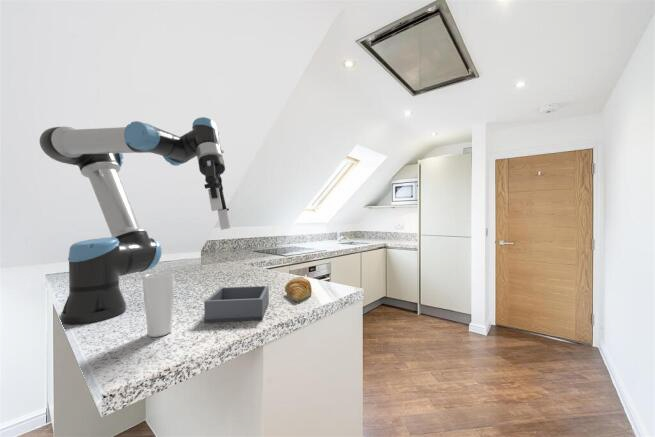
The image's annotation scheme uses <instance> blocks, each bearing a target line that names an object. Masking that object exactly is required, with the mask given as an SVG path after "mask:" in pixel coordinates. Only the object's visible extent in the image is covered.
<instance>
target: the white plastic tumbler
mask: <svg viewBox="0 0 655 437" xmlns="http://www.w3.org/2000/svg"><path fill="white" fill-rule="evenodd" d="M142 290H143V299H144V300H143V301H144V310H145V318H146V319H145V320H146V330H147V332H146V334H147V336H149V337H150V338H157V337H162V336H165V335H168V334H169V333H171V332H172V330H173V310H174V302H175V301H174V300H175V273H174V272H156V273H150V274H146V275H144V276H143V288H142Z"/></svg>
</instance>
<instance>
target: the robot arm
mask: <svg viewBox="0 0 655 437" xmlns="http://www.w3.org/2000/svg"><path fill="white" fill-rule="evenodd" d="M219 134H220V133H219V131H218V127H217V124H216V122H215V121H214V120H213V119H211V118H209V117H203V116H201V117H198V118H196V119H194V120H193V122H192V128H191V130H189V131H188V132H186V133H185V134H182V135H181V136H179V135H176V134H174V133H171V132H169V131H165V130H163V129H161V128H159V127H156V126H154V125H152V124H150V123H145V122H142V121H137V120H135V121H132V122H130V123H129V124H127V125H126V126H124V127H123V126H121V127H104V128H103V127H102V128H101V127H100V128H82V129H81V128H79V129H76V128H73V127H70V126H54V127H50V128H47V129H45V130H44V131H43V132H42V133H41V135H40V137H39V145H40V148H41V150H42V151H43V153H45V154H46V155H47V156H48V157H49V158H51V160H55V161H57V162H60V163H61V164H62V163H63V164H67V165H71V166H72V165H73V166H77V167H78V169H79V171H80V174H81V175H82V176H83V177H86V178H88V179H89V181H90V185H91V186H92V189H93V192H94V194H95V197H96V199H97V202H98V205H99V207H100V209H101V213H102V215H103V216H104V220H105V222H106V224H107V227H108V230H109V233H110V236H111V237H99V238H92V239H85V240H81V241H78V242H75V243H73V244H71V246H70V247H69V251H68V257H67V260H68V277H69V278H68V284H69V292H68V296H67V299H66V301H65V303H64V305H63V308H62V311H61V313H60V314H61V315H60V321H61V323H62V324H64V325H65V324H66V325H77V324H79V325H81V324H89V323H94V322H95V323H96V322H99V321H102V320H103V321H104V320H107V319H111V318H114V317H116V316H119V315H122V314H123V313H125V312H126V310H127V304H126V303H127V302H126V300H125V299H124V296H123V293H122V291H121V289H120V276H126V275H130V274H135V273H142V272H145V271H147V270H151V269H154V267H156V266H157V265H158V263H160V259H161V258H162V246H161V244H160V242H159V241H158V240H157V239H155V238H153V237H152V238H151V237H149V234H148V232H147V230H146V229H143V228H140V225H139V223H138V220H137V218H136V215H135V213H134V210H133V208H132V205H131V203H130V201H129V198H128V195H127V192H126V191H125V188H124V186H123V183H122V180H121V178H120V176H119V172H120V170H121V168H122V165H123V163H124V162H123V159H124V156H123V155H124V154H134V153H136V154H137V153H138V154H141V153H143V154H144V153H146V154H148V153H150V154H154V155H159V156H162V157H163V159H164V160H165V161H166V162H167V163H169V164H170V165H171V166H175V167H176V166H180V165H183V164H185V163H187V162H189V161H190V160H193V159H194V158H196V157H197V163H198V168H199V172H200V173H201V175H203V176H204V181H205V182H206V184H205V183H204V189H207V191H208V197H209V204H210V209H211V212H214V211H217V215H218V219H219V220H218V221H219V226H220V230H221V231H222V230H228V229H231V224H230V220H229V214H228V211H230V209H229V208H227V205H226V201H225V196H224V187H223V184H222V181H223V179H222V176H221V175H223V174H224V173H225V171H226V166H225V161H224V157H223V154H224V153H225V151H224V150H223V149H222V147H221V143H220V135H219Z"/></svg>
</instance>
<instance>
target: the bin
mask: <svg viewBox="0 0 655 437" xmlns="http://www.w3.org/2000/svg"><path fill="white" fill-rule="evenodd" d="M269 287H270V286H269V285H253V286H250V285H249V286H247V285H246V286H225V287H224V286H223V287H220V288H218V289H217V290H216V291H214V293H212V294H211V295H210V296H209V297H208V298H207V299H206V300H204V301H203V304H204V309H203V311H204V314H203V315H204V323H205V324H207V323H208V324H209V323H228V322H246V321H247V322H248V321H249V322H251V321H253V322H254V321H264V317H265V314H266V312H267V309H268V307H269V303H270V298H269V296H270V291H269V290H270V289H269Z"/></svg>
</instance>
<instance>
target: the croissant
mask: <svg viewBox="0 0 655 437" xmlns="http://www.w3.org/2000/svg"><path fill="white" fill-rule="evenodd" d="M284 291H285V293H286V295H287V296H288V297H289V298H290V299H292V301H294V302H299V301H302V300H304V299H307V298H308V297H310V296H311V295H312V284H311V281H310V280H309V279H307V278H305V277H303V276H297V277H295V278H292V279H290V280H289V281H288V282H287V283H286V285H285V286H284Z"/></svg>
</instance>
